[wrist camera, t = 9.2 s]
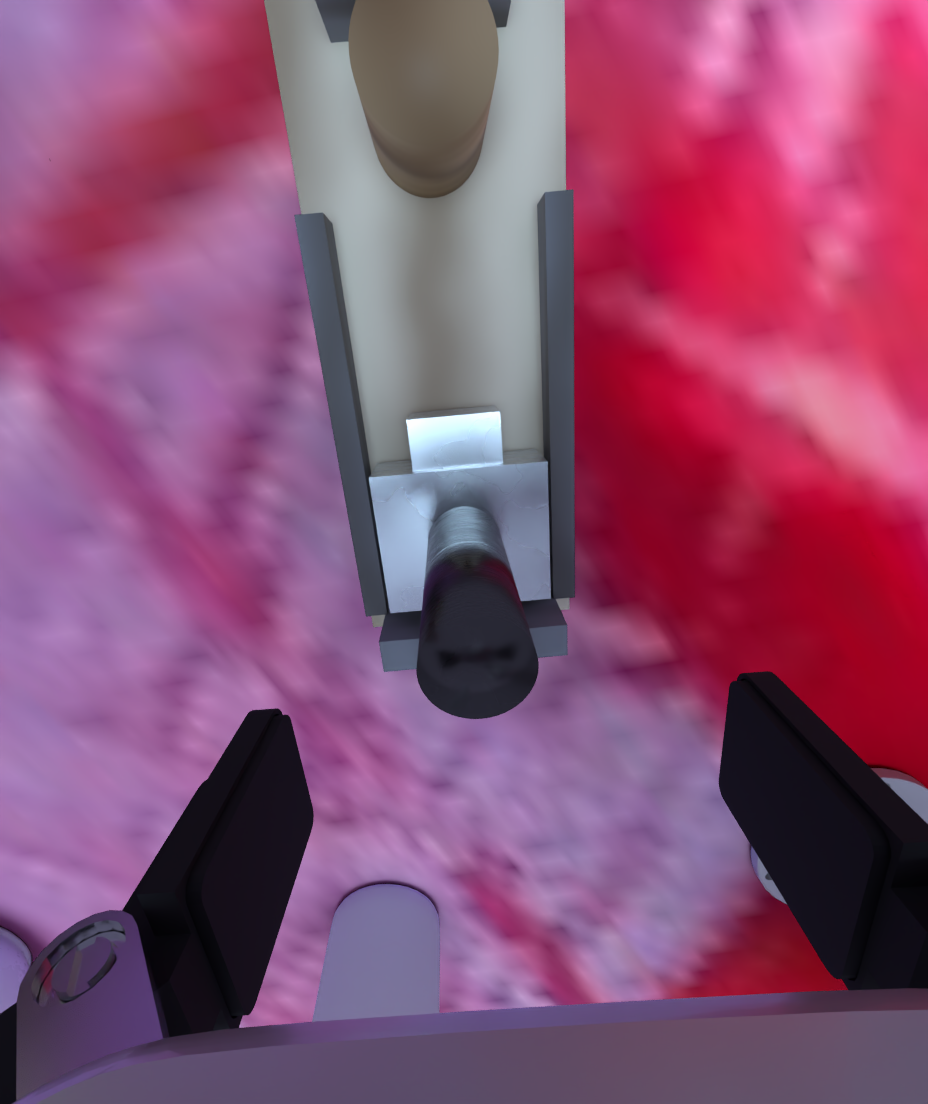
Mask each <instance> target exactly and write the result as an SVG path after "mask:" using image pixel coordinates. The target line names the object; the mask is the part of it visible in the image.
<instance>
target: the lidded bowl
mask: <svg viewBox="0 0 928 1104" xmlns="http://www.w3.org/2000/svg"><path fill="white" fill-rule="evenodd" d="M31 961H32V958H31V953H30V950H29V949H28V947H27V945H26V944H25V943H24V942H23V941H22V940H21V939H20V938H19V937H17V936H16V935H15V934H13V933H12V932H10V931H8V930H6V929H4V928H2V927H0V1013H2V1012H3V1011H5V1010H6V1009H8V1008H9V1007H10V1006H12V1005H13V1004H15V1003H16V1002H17V997H18V992H19V987H20V984H21V982H22V980H23V978H24V976H25V974H26V972H27V971H28V969H29V967H30V965H31Z"/></svg>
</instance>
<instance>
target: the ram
mask: <svg viewBox="0 0 928 1104" xmlns="http://www.w3.org/2000/svg"><path fill="white" fill-rule="evenodd" d="M406 421H407V429H408V437H409V445H410V453H411V460H405V461H394V462H383V463H377V465H376V467H375V468H374V470H373V472H372V473H371V475H370V476H369V483H370V489H371V496H372V502H373V508H374V515H375V521H376V527H377V533H378V540H379V546H380V552H381V559H382V565H383V571H384V578H385V584H386V590H387V597H388V603H389V609H390V613H399V612H409V611H420V610H422V613H421V624H420V635H419V646H418V657H417V668H416V669H417V678H418V682H419V685H420V687H421V689H422V691H423V693H424V694H425V696H426V697H427V698H428V699H429V700H430V701H431V702H432V703H433V704H434V705H435V706H437V707H438V708H439V709H441V710H443V711H445V712H447V713H449V714H451V715H454V716H458V717H462V718H470V719H482V718H489V717H493V716H497V715H500V714H502V713H505V712H507V711H509V710H511V709H512V708H514V707H515V706H517V705H518V704H519V703H520V702H522V701H523V700H524V699H525V698H526V696H527V695H528V694H529V693H530V691H531V690H532V688H533V686H534V684H535V681H536V678H537V674H538V656H537V653H536V649H535V646H534V643H533V639H532V636H531V633H530V629H529V626H528V623H527V620H526V616H525V613H524V610H523V606H522V603H521V601H529V600H540V599H551V584H550V541H549V498H548V461H547V460H546V459H545V458H544V457H543V456H542V455H541V454H540V453H539V452H538V451H537V449H525V450H514V451H503V452H502V435H501V417H500V411H499V410H498V409H497V407H496V406H495V405H492V406H481V407H470V408H459V409H448V410H437V411H426V412H415V413H410V415H409V416H408V418H407V420H406Z"/></svg>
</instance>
